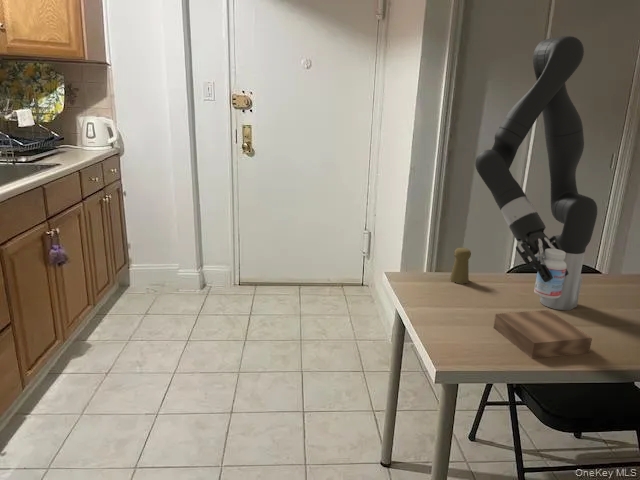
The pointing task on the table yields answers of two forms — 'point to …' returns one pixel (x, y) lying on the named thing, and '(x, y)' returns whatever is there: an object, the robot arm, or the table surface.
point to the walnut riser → (542, 333)
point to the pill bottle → (557, 271)
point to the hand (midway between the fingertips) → (557, 278)
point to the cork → (461, 266)
